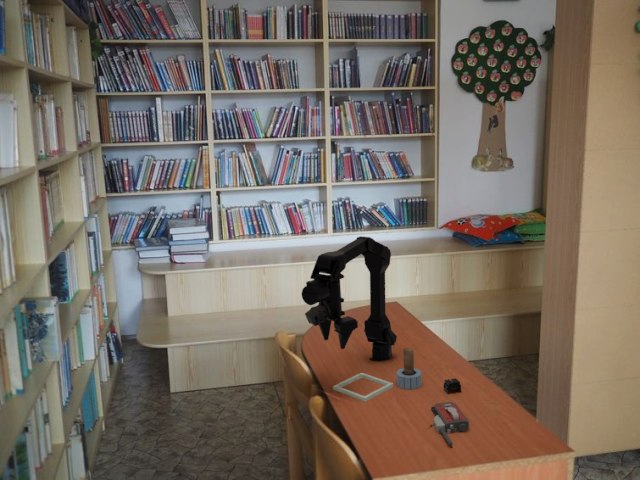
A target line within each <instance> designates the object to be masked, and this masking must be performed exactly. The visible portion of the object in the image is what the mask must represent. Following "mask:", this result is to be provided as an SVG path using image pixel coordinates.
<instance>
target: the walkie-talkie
mask: <svg viewBox="0 0 640 480" xmlns="http://www.w3.org/2000/svg"><path fill="white" fill-rule="evenodd" d="M430 410H431V412H432V414H433V416H434V418H433V427H434V429H435V430H436V433H438V434H439V433H440V434H441V435H442V436H443V438H444V440H445V441H446V442H447V444H448V445H449V446H453V442H452V440H451V438H450V437H449V435H448V434H447V433H449V434H450V433H454V432H466V431H469V428H470V427H469V426H470V421H469V420H468V418H467V417H466V415H465V414H464V413H463V412H462V410H461V409H460V408H459V406H458V405H457V403H454V402H453V401H448V402H446V401H445V402H439V403H435V404H434V405H433V406H431V408H430Z"/></svg>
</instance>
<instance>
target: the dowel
mask: <svg viewBox="0 0 640 480" xmlns="http://www.w3.org/2000/svg"><path fill="white" fill-rule="evenodd" d="M402 350H403V351H402V352H403V368H404V375H409V376H410V375H414V368H415V363H414V362H415V360H414V359H415V357H414V356H415V355H414V349H413V348H412V347H411V348H410V347H409V348H408V347H406V348H404V349H402Z"/></svg>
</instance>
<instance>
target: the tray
mask: <svg viewBox="0 0 640 480" xmlns="http://www.w3.org/2000/svg"><path fill="white" fill-rule="evenodd" d="M362 378H363V379H365V380H368V381H371V382H374V383H377V384H379V385H381V386H382V387H380V388H378V389H376V390H374V391H372V392H370V393H368V394H366V395H363V394H360V393H357V392H355V391H352V390H349V389H346V388H343V387H346V386H348V385H349V384H351V383H354V382H356V381H357V380H360V379H362ZM392 388H394V383H393V382H390V381H388V380H384V379H381V378H379V377H376V376H373V375H369V374H367V373H364V372H360V373H358V374H356V375H353V376H351V377H349V378H347V379H345V380H343V381H341V382H339V383H337V384H335V385H333V386H332V390H333V391H336V392H339V393H341V394H343V395H347V396H348V397H352V398H354V399H357V400H359V401H362V402H364V403H365V402H367V401H370V400H372V399H373V398H376V396H378V395H382V394H383V393H384V392H386V391H389V390H390V389H392Z"/></svg>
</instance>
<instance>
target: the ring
mask: <svg viewBox="0 0 640 480" xmlns="http://www.w3.org/2000/svg"><path fill="white" fill-rule="evenodd" d="M422 375H423V374H422V371H421V370H420V369H418V368H415V367H414V375H410V376H409V375H404V367H403V368H399V369H398V370H397V371H396V386H397V387H398V388H400V389H403V390H416V389H419V388H421V387H422V385H423V383H422V381H423V380H422V379H423V378H422V377H423V376H422Z"/></svg>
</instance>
